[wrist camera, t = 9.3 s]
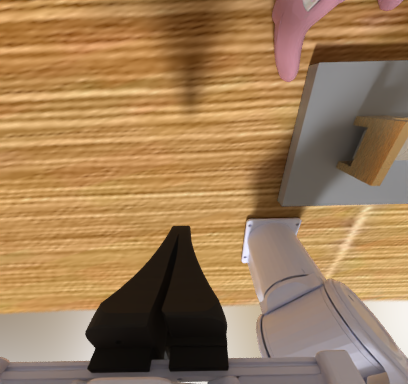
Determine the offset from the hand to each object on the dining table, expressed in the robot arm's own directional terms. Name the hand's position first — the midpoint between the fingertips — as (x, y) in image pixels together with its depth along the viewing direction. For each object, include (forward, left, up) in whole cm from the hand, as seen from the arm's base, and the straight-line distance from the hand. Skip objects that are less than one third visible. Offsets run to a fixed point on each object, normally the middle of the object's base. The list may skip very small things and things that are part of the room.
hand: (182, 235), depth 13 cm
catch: (+5, -19, -8) cm, 21 cm away
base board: (+5, -23, -9) cm, 25 cm away
